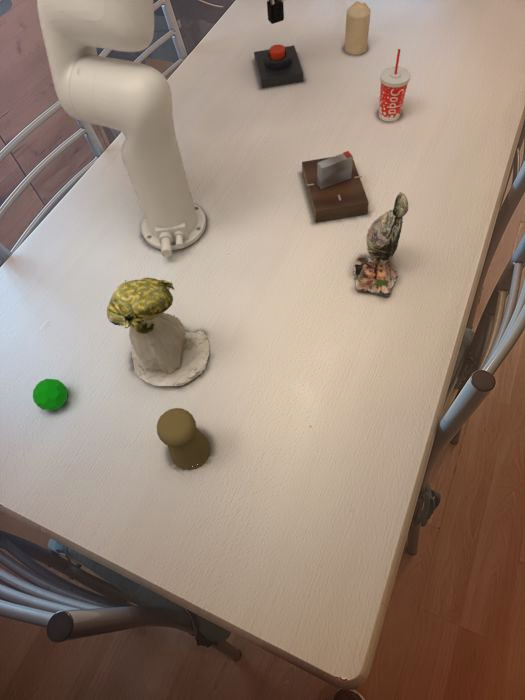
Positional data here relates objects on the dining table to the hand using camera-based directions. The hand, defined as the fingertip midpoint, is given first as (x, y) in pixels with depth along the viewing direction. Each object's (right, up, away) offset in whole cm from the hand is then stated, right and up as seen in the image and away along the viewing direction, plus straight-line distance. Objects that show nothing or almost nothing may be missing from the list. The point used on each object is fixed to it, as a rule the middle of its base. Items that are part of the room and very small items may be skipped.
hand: (276, 20), depth 111 cm
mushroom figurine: (-18, -75, -28) cm, 82 cm away
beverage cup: (+25, -22, -2) cm, 33 cm away
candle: (+20, +1, +12) cm, 23 cm away
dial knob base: (+11, -43, -13) cm, 46 cm away
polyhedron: (-36, -82, -31) cm, 95 cm away
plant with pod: (+17, -60, -23) cm, 67 cm away
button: (+1, -4, +7) cm, 8 cm away
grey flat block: (+11, -41, -15) cm, 45 cm away
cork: (-14, -89, -37) cm, 97 cm away
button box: (+1, -6, +10) cm, 11 cm away
